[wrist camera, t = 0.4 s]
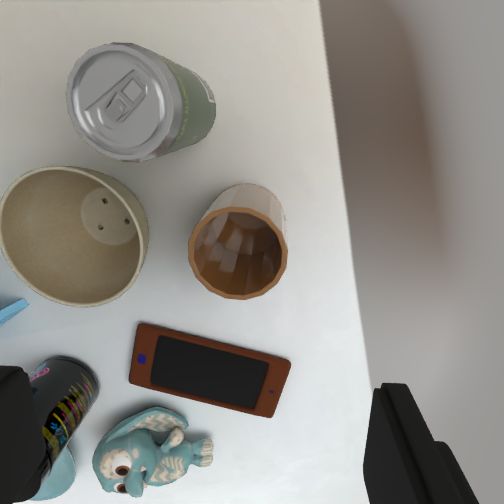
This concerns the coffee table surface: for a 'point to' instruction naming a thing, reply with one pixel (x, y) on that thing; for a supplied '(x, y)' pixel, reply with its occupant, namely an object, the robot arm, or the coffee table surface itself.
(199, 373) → the smartphone
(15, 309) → the blue doll chair
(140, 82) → the beer can
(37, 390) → the supplement container
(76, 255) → the flower pot
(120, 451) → the stuffed animal
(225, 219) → the wooden cup
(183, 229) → the coffee table surface
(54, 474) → the saucer
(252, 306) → the coffee table surface
